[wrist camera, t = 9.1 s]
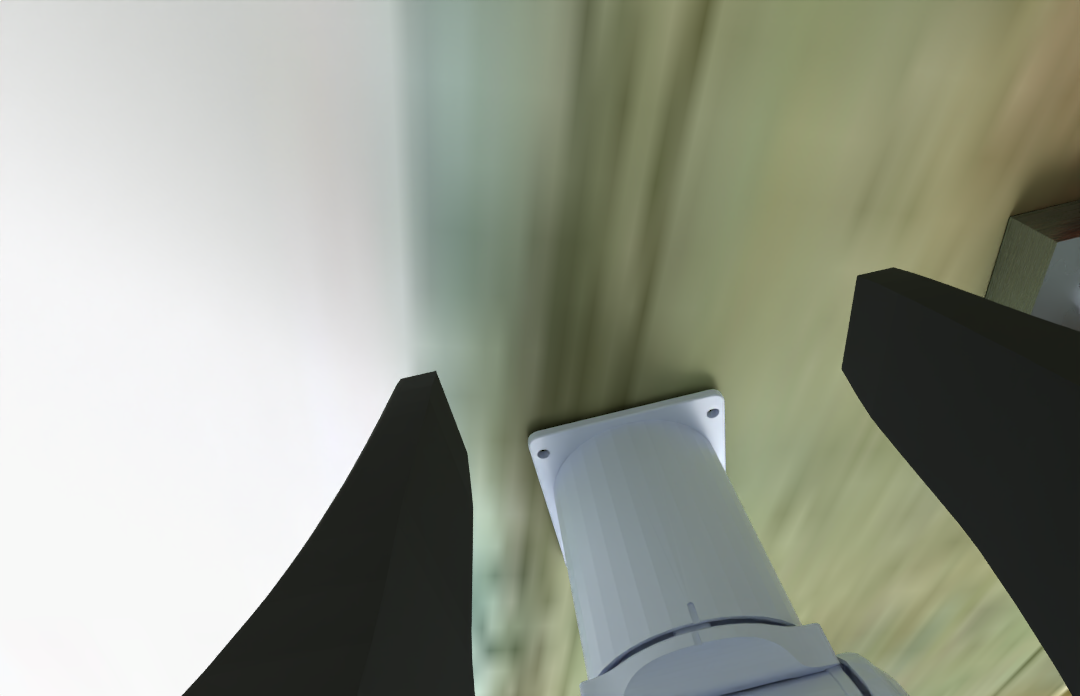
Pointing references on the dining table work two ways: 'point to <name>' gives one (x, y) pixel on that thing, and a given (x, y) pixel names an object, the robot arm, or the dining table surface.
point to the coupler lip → (1041, 265)
